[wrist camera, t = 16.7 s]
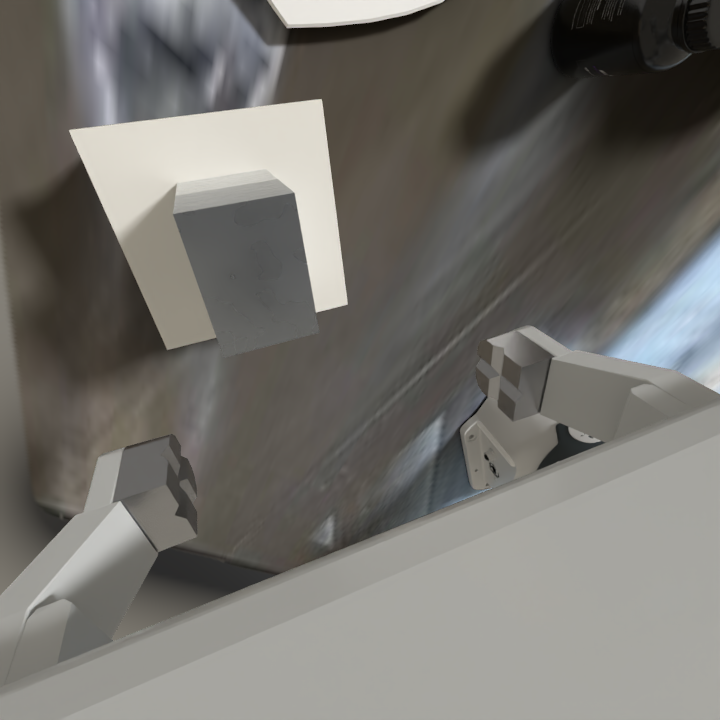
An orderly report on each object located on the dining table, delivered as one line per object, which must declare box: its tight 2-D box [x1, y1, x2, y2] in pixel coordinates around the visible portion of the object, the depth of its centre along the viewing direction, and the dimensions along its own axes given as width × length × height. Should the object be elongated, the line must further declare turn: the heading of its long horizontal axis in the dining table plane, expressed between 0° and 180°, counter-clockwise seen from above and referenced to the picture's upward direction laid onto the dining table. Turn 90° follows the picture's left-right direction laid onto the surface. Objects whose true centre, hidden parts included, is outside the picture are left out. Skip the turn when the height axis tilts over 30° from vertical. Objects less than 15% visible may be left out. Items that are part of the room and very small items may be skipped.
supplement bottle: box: [551, 0, 720, 78], centre depth 29 cm, size 7×7×12 cm
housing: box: [173, 169, 319, 358], centre depth 22 cm, size 5×7×8 cm
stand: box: [69, 99, 348, 350], centre depth 28 cm, size 13×13×8 cm
